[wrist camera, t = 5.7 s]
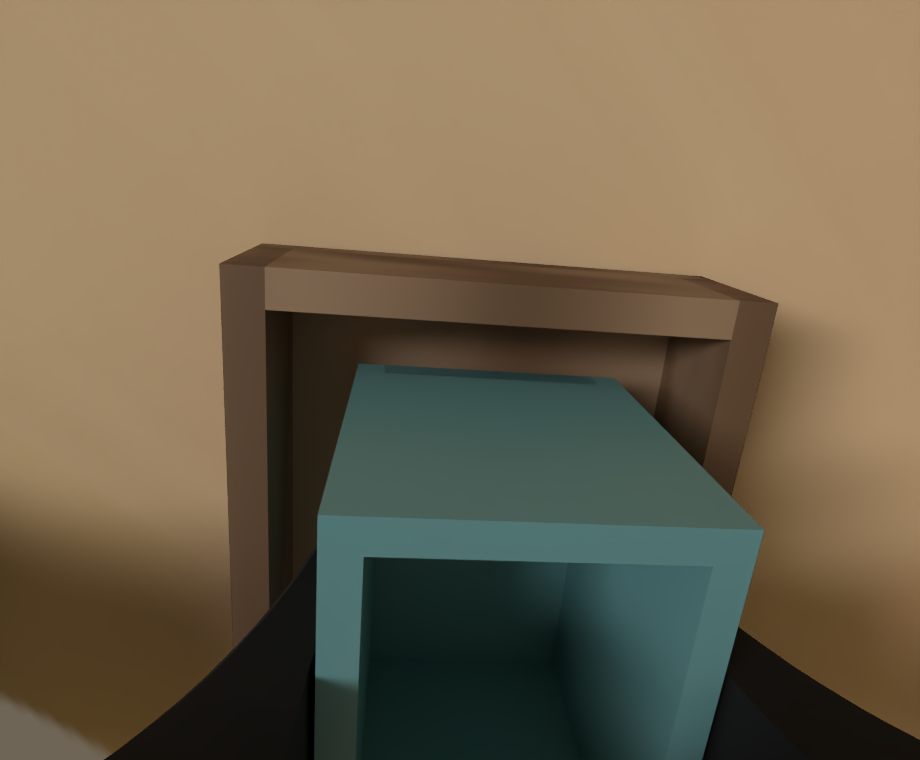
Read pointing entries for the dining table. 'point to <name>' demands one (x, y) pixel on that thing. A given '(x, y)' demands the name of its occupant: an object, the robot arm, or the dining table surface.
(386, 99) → the dining table surface
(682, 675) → the teal crate
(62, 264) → the dining table surface
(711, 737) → the robot arm
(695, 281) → the walnut crate
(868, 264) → the dining table surface
